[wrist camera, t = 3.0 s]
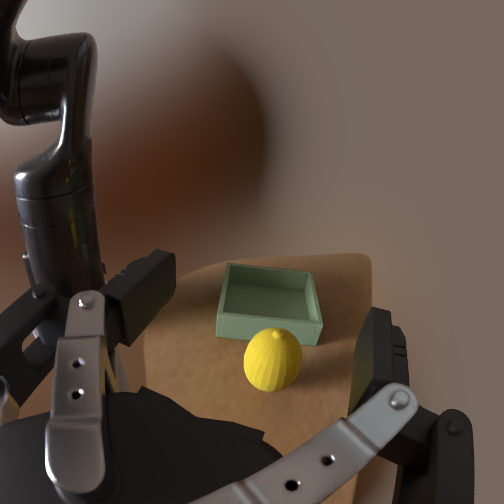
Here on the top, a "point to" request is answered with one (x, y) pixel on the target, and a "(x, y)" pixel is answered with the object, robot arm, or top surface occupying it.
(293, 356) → the lemon
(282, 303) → the bin
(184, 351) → the top surface
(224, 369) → the top surface
